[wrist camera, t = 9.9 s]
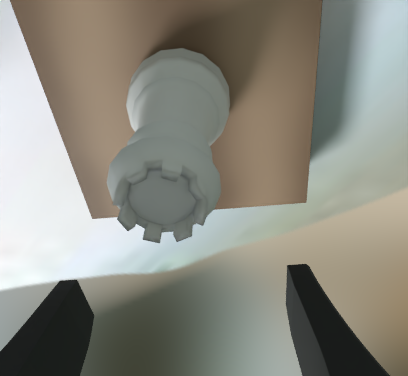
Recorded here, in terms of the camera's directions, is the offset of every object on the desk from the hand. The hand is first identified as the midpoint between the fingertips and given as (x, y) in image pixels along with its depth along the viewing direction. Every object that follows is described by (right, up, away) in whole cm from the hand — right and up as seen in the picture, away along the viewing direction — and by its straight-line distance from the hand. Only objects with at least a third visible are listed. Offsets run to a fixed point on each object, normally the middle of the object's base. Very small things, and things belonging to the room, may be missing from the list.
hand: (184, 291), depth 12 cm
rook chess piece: (0, +8, +4) cm, 9 cm away
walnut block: (0, +9, +6) cm, 11 cm away
